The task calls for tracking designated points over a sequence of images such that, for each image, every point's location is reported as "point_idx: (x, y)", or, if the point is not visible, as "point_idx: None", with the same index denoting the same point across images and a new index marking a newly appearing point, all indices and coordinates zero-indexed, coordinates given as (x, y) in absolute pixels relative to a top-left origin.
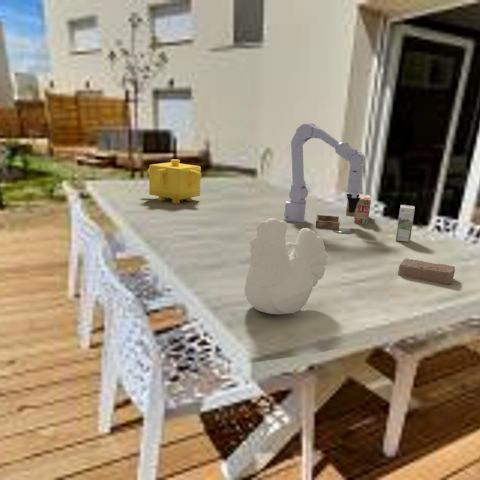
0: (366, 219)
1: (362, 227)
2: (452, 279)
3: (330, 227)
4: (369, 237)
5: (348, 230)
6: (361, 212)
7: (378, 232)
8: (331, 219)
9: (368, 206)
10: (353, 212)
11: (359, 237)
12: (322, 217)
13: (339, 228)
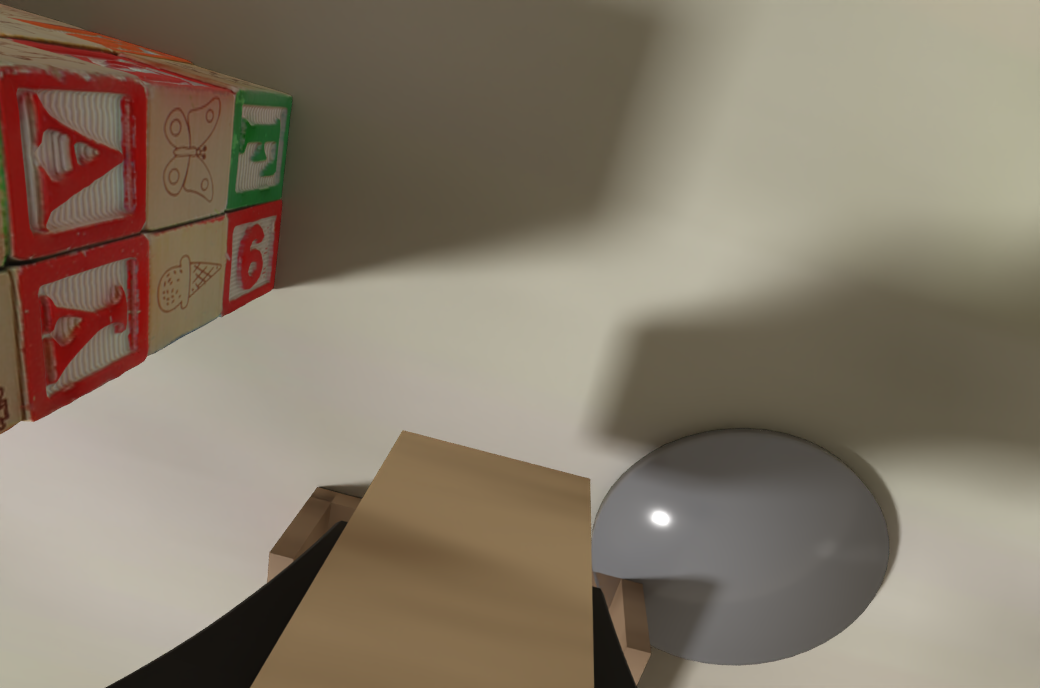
0: (235, 125)
1: (439, 226)
2: None
3: None
4: (1023, 314)
5: (704, 500)
6: (151, 251)
7: (739, 53)
8: None
9: (6, 115)
10: (601, 603)
11: (993, 446)
12: None
13: (607, 567)
